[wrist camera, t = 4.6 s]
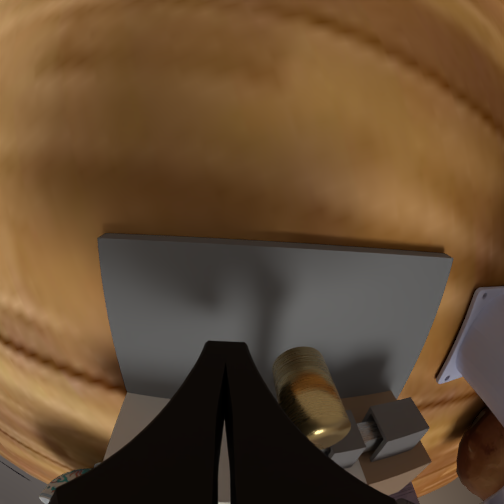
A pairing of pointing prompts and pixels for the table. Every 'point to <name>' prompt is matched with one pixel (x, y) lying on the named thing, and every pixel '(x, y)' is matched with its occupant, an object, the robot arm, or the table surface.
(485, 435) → the butternut squash
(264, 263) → the door
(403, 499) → the cake pan box
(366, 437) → the bolt
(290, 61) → the table surface
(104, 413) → the table surface
